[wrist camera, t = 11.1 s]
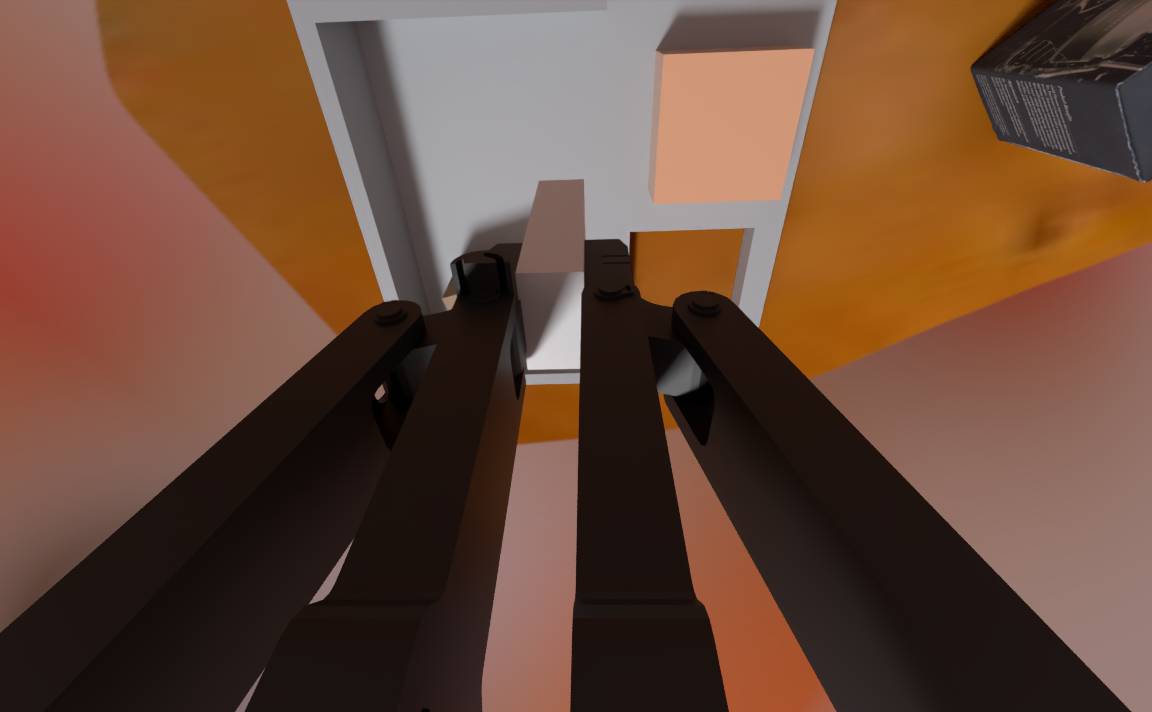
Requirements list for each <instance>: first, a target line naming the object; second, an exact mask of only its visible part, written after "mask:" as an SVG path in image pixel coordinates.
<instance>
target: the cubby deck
mask: <svg viewBox="0 0 1152 712" xmlns="http://www.w3.org/2000/svg"><path fill="white" fill-rule="evenodd" d="M287 2H288V6H289V9H290V12H291V15H292V18H293V21H294V24H295V27H296V30H297V33H298V36H299V40H300V43H301V46H302V49H303V52H304V55H305V58H306V61H307V64H308V67H309V70H310V74H311V77H312V80H313V83H314V86H315V89H316V92H317V95H318V98H319V101H320V104H321V107H322V111H323V114H324V117H325V120H326V123H327V126H328V129H329V132H330V135H331V138H332V141H333V145H334V148H335V151H336V154H337V157H338V160H339V163H340V166H341V169H342V172H343V175H344V179H345V182H346V185H347V188H348V191H349V194H350V197H351V200H352V203H353V206H354V209H355V213H356V216H357V219H358V222H359V225H360V228H361V231H362V234H363V237H364V240H365V243H366V247H367V250H368V253H369V256H370V259H371V262H372V265H373V268H374V271H375V274H376V277H377V280H378V284H379V287H380V290H381V293H382V296H383V299H384V302H386V301H389V302H390V301H391V300H407V301H411V302H415V303H417V304H418V305H419V306H420V307H421V310H422V314H423V316H425V315H430V314H435V313H440V312H444V311H448V309H447V307H446V305H445V304H444V302H443V300H442V297H443V295H444V293H445V291H446V288H447V286H448V284H449V282H450V280H451V278H452V272H451V267H450V263H451V262H452V261H453V260H454V259H455V258H457V257H459V256H461V255H463V254H466V253H470V252H473V251H482V250H490V249H491V248H492V247H494V246H495V245H496V244H503V243H523V241H524V237H525V233H526V229H527V225H528V221H529V218H530V214H531V210H532V206H533V202H534V198H535V194H536V190H537V186H538V182H539V181H545V180H575V179H584V195H585V233H586V240H595V239H620V240H621V241H622V242H623V243H624V244H626V245H627V246H628V252H629V246H630V232H642V231H672V230H702V229H732V228H745V230H744V235H743V240H742V246H741V251H740V256H739V261H738V267H737V272H736V277H735V283H734V288H733V293H732V298H731V301H733V302H734V303H735V304H736V305H737V306H738V307H739V308H740V309H741V310H742V311H743V312H744V313H745V315H746V316H747V317H748V318H749V319H750V320H751V321H752V322H753V323H754V324H755V325H756V326H757V327H758V328H759V324H760V320H761V316H762V312H763V308H764V303H765V299H766V295H767V291H768V287H769V283H770V278H771V274H772V270H773V266H774V262H775V257H776V253H777V249H778V245H779V241H780V237H781V232H782V228H783V224H784V220H785V216H786V212H787V207H788V203H789V199H790V195H791V191H792V186H793V182H794V178H795V174H796V170H797V166H798V161H799V157H800V153H801V149H802V145H803V140H804V136H805V132H806V128H807V124H808V120H809V115H810V111H811V107H812V103H813V99H814V95H815V90H816V86H817V82H818V78H819V74H820V69H821V65H822V61H823V57H824V53H825V49H826V44H827V40H828V36H829V32H830V28H831V23H832V19H833V15H834V11H835V7H836V3H837V0H287ZM781 45H797V46H803V47H809V48H815V52H814V56H813V60H812V65H811V69H810V73H809V78H808V82H807V87H806V91H805V95H804V100H803V104H802V108H801V113H800V117H799V121H798V126H797V130H796V135H795V139H794V143H793V148H792V152H791V156H790V161H789V165H788V169H787V174H786V178H785V183H784V187H783V191H782V196H781V200H766V201H736V202H706V203H676V204H653V202H652V199H651V197H650V194H649V192H648V176H649V158H650V141H651V124H652V106H653V89H654V72H655V54H656V50H681V49H706V48H731V47H756V46H781ZM524 371H525V378H526V385H531V384H569V383H580V369H543V370H528V368H527V361H526V358H525V364H524Z"/></svg>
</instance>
